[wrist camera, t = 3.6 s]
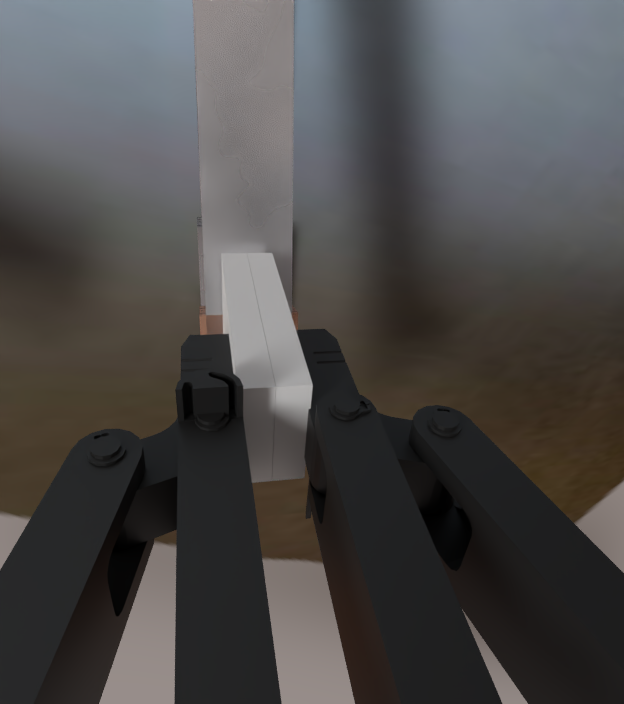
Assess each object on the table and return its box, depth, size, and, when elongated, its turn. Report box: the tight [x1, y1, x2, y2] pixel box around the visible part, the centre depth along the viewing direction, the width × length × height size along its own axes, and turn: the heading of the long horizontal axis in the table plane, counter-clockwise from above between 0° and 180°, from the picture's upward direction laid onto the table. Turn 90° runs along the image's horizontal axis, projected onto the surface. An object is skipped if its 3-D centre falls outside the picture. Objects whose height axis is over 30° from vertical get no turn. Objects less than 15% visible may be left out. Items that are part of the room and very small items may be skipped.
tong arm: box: [193, 0, 298, 335], centre depth 16 cm, size 3×27×2 cm, turn 176°
